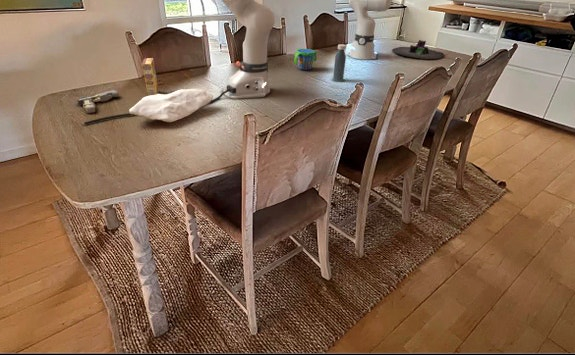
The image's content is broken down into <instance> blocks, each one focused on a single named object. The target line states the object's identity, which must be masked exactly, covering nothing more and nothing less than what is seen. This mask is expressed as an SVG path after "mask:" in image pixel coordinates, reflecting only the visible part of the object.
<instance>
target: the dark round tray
mask: <svg viewBox="0 0 575 355" xmlns="http://www.w3.org/2000/svg"><path fill="white" fill-rule="evenodd" d="M426 43H427V41H426V40H422V39H419V40H418V41H417V43H416V44H415V45H412V44H411V45H410V46H399V47H395V48H392V49H391V51H392V52H393V53H395V54H397V55H401V56H403V57H407V58H415V59H421V60H437V59H442V58H444V56H445V54H444V53H443V52H440V51H436V50H435V49H434V50H433V49H429V47H428V46H426Z"/></svg>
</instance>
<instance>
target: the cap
mask: <svg viewBox="0 0 575 355" xmlns="http://www.w3.org/2000/svg"><path fill="white" fill-rule="evenodd" d="M337 49H338V50H339V49H340V50H344V51H345V50H346V49H347V45H346V44H343V43H341V44H339V43H338V45H337Z"/></svg>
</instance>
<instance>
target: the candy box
mask: <svg viewBox="0 0 575 355" xmlns="http://www.w3.org/2000/svg"><path fill="white" fill-rule="evenodd" d="M141 66H142V73H143V78H144V82H145V87H146V92H147V96H150V95H156V94H159V91H160V90H159V84H158V79H157V73H156V66H155V62H154V58H153V57H151V58H150V57H149V58H146V57H145V58H143V60H142V63H141Z"/></svg>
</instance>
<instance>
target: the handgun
mask: <svg viewBox="0 0 575 355" xmlns="http://www.w3.org/2000/svg"><path fill="white" fill-rule="evenodd" d="M119 96H120V94H119V92H118V91H117V90H116V89H112V90H108V91H105V92H104V91H103V92H101V93H96V94H94V95H86V94H85V95H84V94H83V95H81V96H80V97H77V98H76V101H77V104H78V105H82V108H83V109H84V110H85V113H87V114H91V113H95V112H96V104H95V103H98V102H106V101H109V100H111V99H113V98H117V97H119Z"/></svg>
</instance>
